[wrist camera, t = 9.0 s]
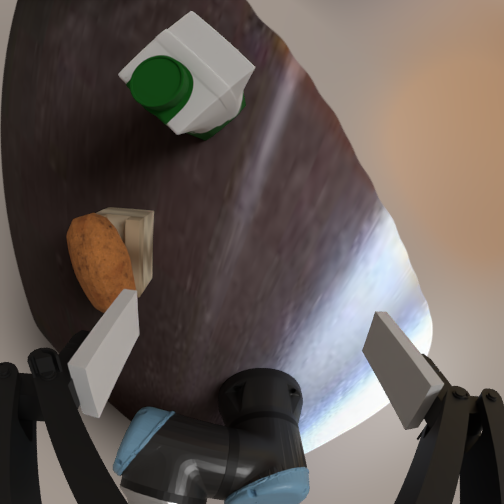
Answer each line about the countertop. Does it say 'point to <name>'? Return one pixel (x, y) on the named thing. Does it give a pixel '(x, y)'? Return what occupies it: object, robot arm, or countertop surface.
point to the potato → (99, 259)
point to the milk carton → (190, 78)
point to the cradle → (135, 240)
